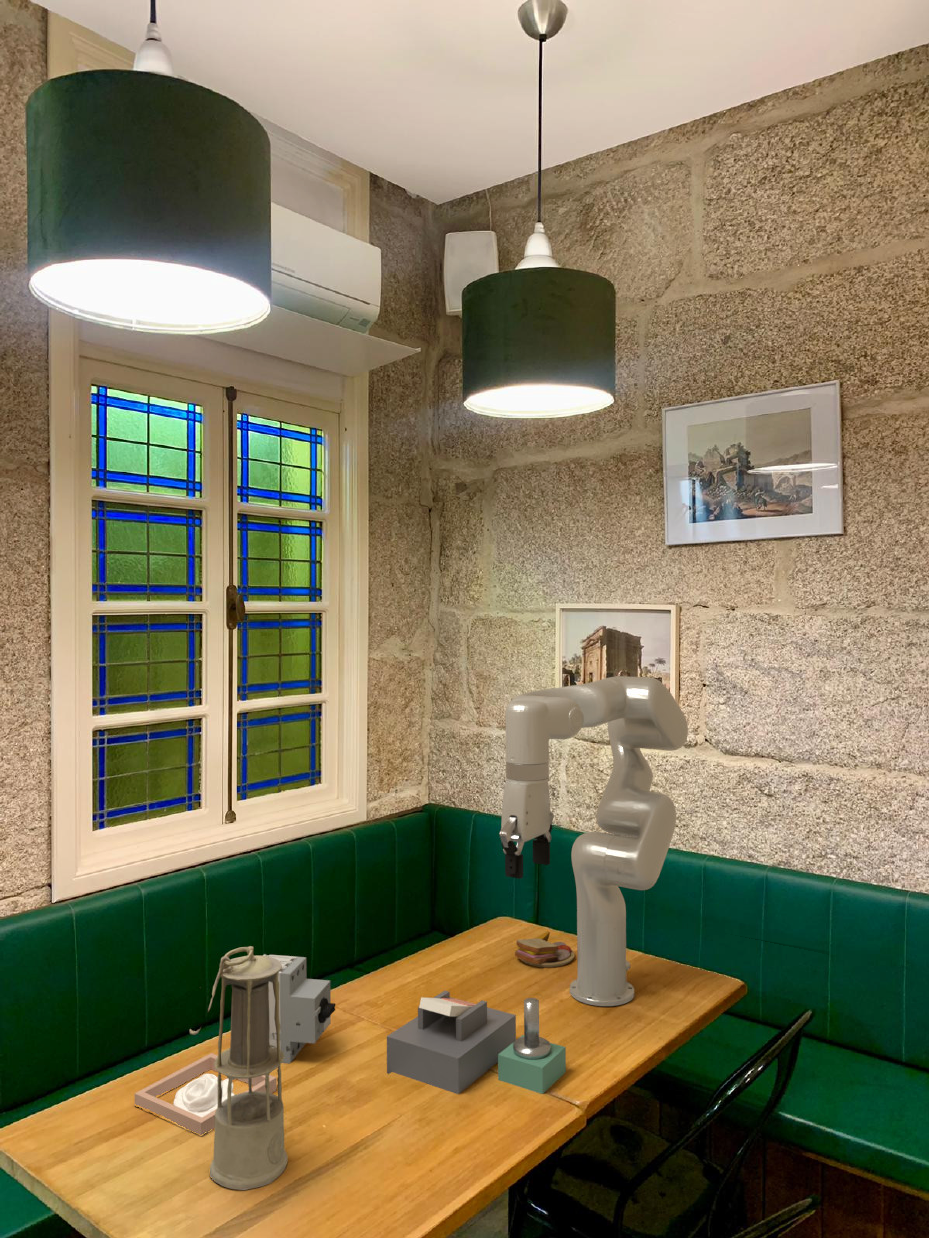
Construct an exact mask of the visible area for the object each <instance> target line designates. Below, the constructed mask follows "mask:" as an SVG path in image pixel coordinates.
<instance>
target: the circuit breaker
mask: <svg viewBox="0 0 929 1238" xmlns="http://www.w3.org/2000/svg"><path fill="white" fill-rule="evenodd" d="M262 956H268V957H272V958H275V959H277V960H279V961H280V962H281V965H282V968H281V970H280V971H279V975H278V982H279V1022H280V1027H281V1028H280V1050H282V1052H283V1054H284V1059H283V1062H282V1063H281V1064H289V1065H290V1064H291V1063H292V1062H293V1061H294V1059H295V1058H296V1057H297V1055H298V1053H300V1051H301V1050H302V1049H303V1048H304V1046H305V1045H306V1044H315V1043H316V1042H317V1041H318V1040H319V1039H320V1037H322V1035H323V1033H324V1032H325V1031H326V1030H327V1028H328V1027H329V1025H330V1024H331V1020H332V1019H331V1016H332V1014H333V1013H334V1012H336V1003H332V1002H331V1001H332V1000H331V980H328V979H326V980H325V979H316V978H315V979H313V978H307V957H304V956H294V955H293V956H292V955H291V956H290V955H281V954H280V955H279V954H278V955H277V954H269V955H267V954H266V953H264V954H263V955H262ZM268 985H269V1023H270V1033H269V1043H270V1045H272V1046H275V1047H277V1033H276V1026H275V1019H274V1016H275V997H274V990H273V983H272V982H270V981H269V984H268ZM272 1048H274V1047H272Z"/></svg>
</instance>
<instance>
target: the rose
mask: <svg viewBox="0 0 929 1238" xmlns="http://www.w3.org/2000/svg"><path fill="white" fill-rule="evenodd" d="M217 1079H218V1075H217V1076H216V1075H215V1074H213V1073H203V1074H201V1075H200V1076H198V1078H194V1079H192V1081H191V1080H190V1081H189V1082H187V1083H186V1085H185V1086H183V1087H181V1088H180V1089H178V1090H177V1091H176V1093H175V1096H174V1099H173V1101H172V1102H173V1104H172V1105H174V1106H177V1107H179V1108H181V1109H184V1110H186V1111H188V1112H191V1113H193V1114H195V1115H197V1116H200V1117H204V1116H205V1115H207V1114H209V1113H210V1112H212V1111H214V1110H215V1109H217V1107H218V1082H217ZM228 1081H229V1079H228V1078H225V1079H224V1080H221V1088H222V1102H223V1101H224V1100H226V1099H227V1095H228V1094H227V1088H228ZM234 1095H236V1094H235V1093H234V1082H233V1081H232V1088H231V1096H234Z"/></svg>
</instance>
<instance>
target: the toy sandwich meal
mask: <svg viewBox="0 0 929 1238" xmlns="http://www.w3.org/2000/svg"><path fill="white" fill-rule="evenodd" d="M550 934H551V932H550V931H545V932H544V933H543V934H541V935H538V936H537V937H534V938H527V939H519V938H518V939H516V946H517V950H515V952H514V953H515V954H514V955H515V957H516V958H518V959H519V960H521V961H522V962H523V963H525V964H526V965H530V966H532V965H533V967H537V968H557V967H562V966H565V965H567V964H569V963H570V962H571V961H573V960H574V958H575V951H574V950H573V949H571V946H569V945H567V944H566V942H563V941H556V942H553V943H551V942H550V941H549V937H550Z"/></svg>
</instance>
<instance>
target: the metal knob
mask: <svg viewBox="0 0 929 1238" xmlns="http://www.w3.org/2000/svg"><path fill="white" fill-rule="evenodd" d="M523 1031H524V1032H523V1035H524V1037H521V1036H520V1038H519V1037H518V1038H516V1040H515V1041H514V1043H513V1052H514V1054H515V1055H516V1056H518V1057H520V1058H523V1059H527V1060H539V1059H543V1058H545V1057H547V1056H548V1055H549V1054H550V1051H551V1050H550V1043H551V1042H550V1041H549V1040H548V1039H546V1038H544V1037H541V1036H540V1001H539V999H537V998H534V997H528V998H525V999H524V1000H523Z"/></svg>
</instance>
